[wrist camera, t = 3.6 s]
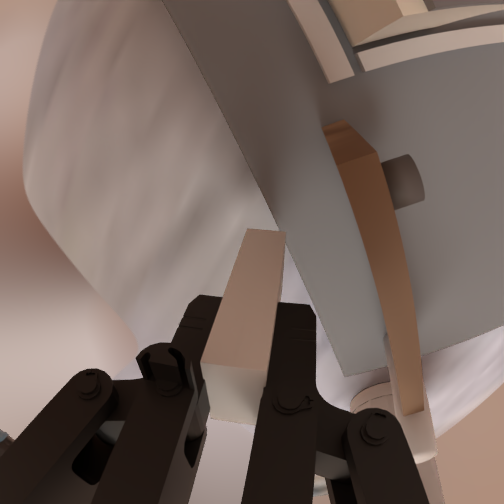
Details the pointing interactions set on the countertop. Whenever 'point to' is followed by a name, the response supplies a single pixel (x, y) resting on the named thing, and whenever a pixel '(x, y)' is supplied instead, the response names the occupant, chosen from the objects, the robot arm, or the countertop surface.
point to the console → (388, 147)
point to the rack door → (384, 243)
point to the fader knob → (403, 16)
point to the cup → (383, 399)
